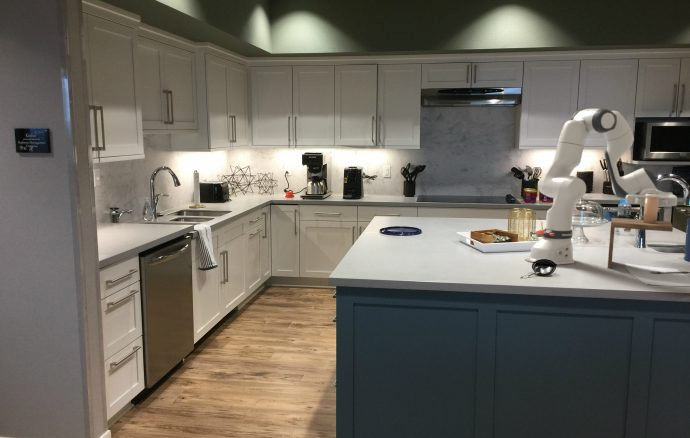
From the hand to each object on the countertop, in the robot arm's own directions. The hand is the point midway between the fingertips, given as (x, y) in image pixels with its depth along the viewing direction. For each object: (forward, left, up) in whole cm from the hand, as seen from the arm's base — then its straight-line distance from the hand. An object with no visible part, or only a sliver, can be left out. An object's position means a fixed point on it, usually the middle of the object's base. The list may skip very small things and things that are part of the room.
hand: (651, 201), depth 247 cm
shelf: (-7, -1, -28) cm, 29 cm away
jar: (-5, -3, -8) cm, 10 cm away
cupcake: (-1, +57, -28) cm, 64 cm away
